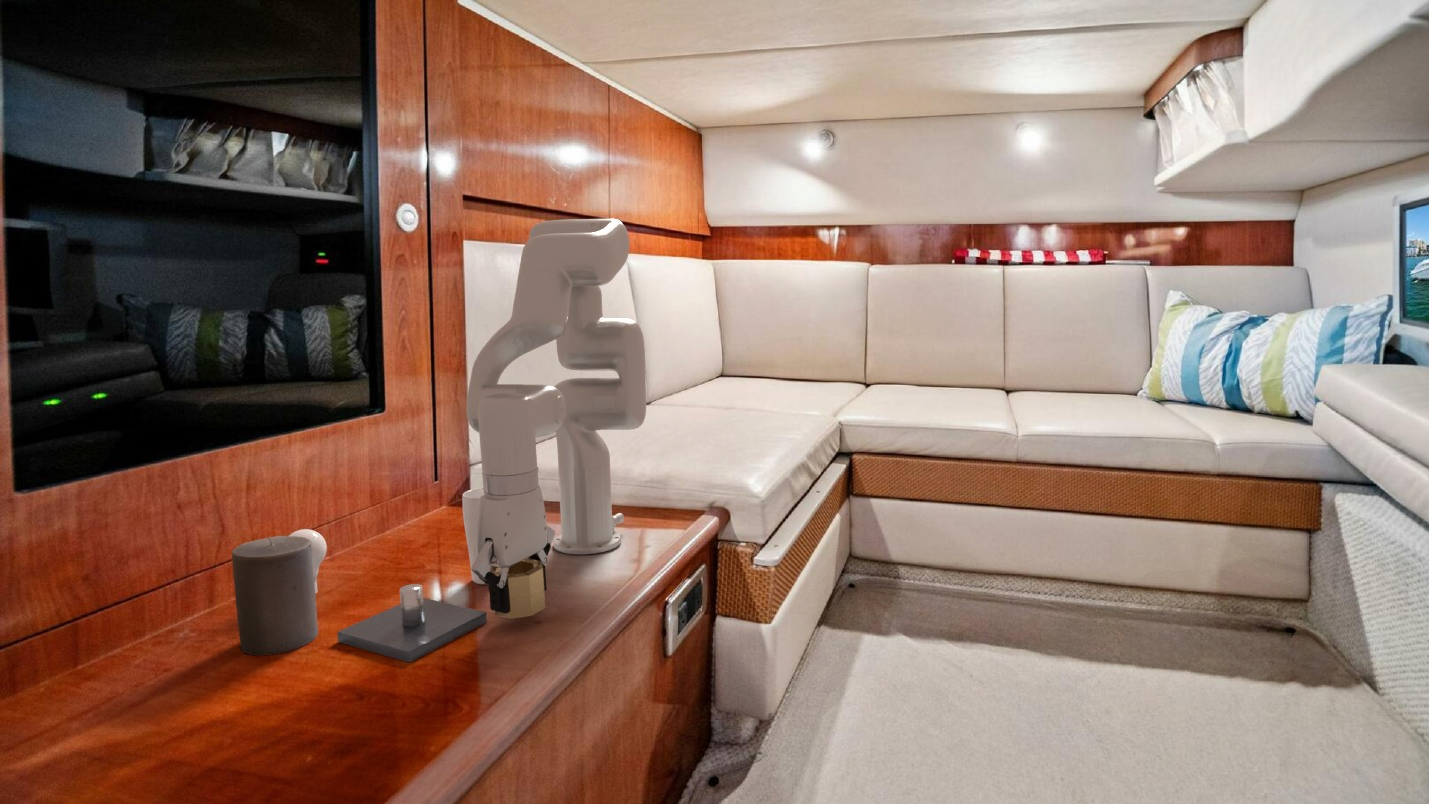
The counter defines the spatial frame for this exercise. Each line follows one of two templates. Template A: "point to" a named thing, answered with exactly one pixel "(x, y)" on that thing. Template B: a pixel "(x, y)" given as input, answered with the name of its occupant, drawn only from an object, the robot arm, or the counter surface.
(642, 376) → the robot arm
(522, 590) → the hub ring
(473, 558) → the drinking glass
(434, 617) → the shaft block
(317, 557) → the lightbulb
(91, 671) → the counter surface
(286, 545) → the pillar candle
